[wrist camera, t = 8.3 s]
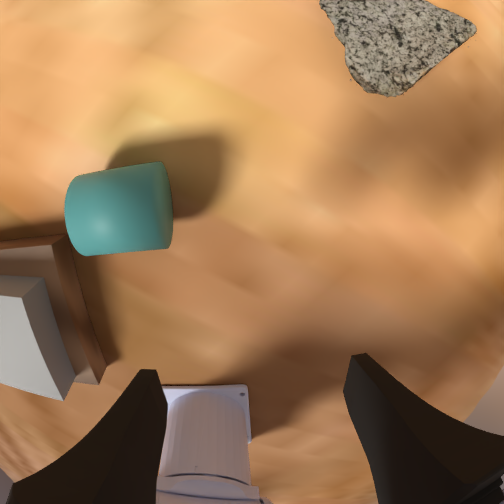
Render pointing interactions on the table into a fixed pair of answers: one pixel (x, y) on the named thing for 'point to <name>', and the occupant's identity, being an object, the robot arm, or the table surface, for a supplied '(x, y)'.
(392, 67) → the rock sample
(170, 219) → the teal cylinder
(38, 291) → the gray top slab
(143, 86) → the table surface
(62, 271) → the walnut base slab
